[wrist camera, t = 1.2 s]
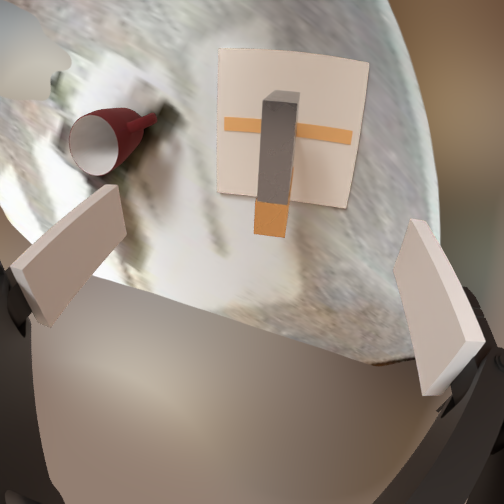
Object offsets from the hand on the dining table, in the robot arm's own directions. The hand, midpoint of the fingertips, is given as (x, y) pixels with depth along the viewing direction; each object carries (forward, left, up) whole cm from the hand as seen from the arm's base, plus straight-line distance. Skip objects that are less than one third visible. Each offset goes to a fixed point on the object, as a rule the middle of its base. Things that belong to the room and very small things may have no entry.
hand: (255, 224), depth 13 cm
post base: (+2, 0, -28) cm, 28 cm away
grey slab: (+2, 0, -19) cm, 19 cm away
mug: (+2, -21, -28) cm, 35 cm away
